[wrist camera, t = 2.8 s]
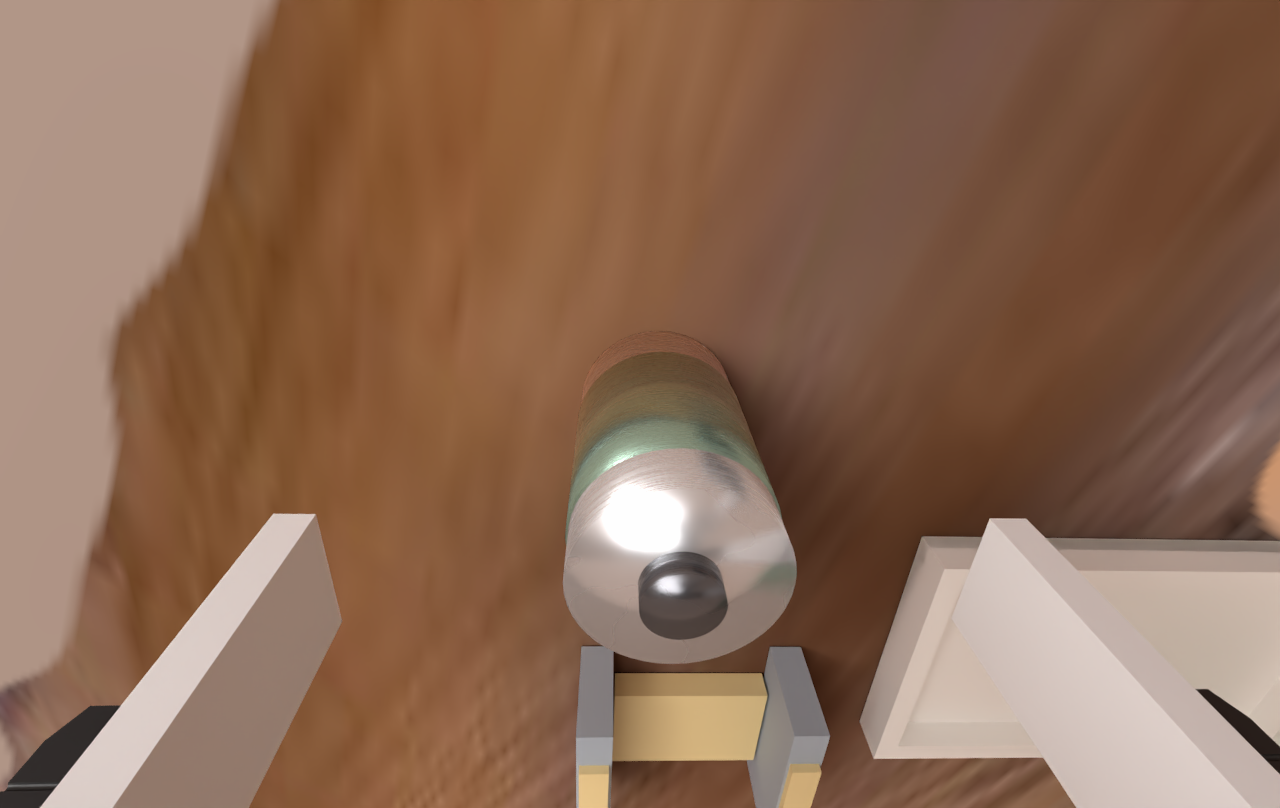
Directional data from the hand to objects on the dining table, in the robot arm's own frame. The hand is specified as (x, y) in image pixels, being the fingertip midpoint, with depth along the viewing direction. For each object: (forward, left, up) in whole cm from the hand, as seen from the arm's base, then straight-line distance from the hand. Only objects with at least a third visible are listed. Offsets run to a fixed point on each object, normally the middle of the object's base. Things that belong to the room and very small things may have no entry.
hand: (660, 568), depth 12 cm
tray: (+10, +18, -7) cm, 22 cm away
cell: (0, 0, -7) cm, 7 cm away
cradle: (+14, +2, -7) cm, 15 cm away
